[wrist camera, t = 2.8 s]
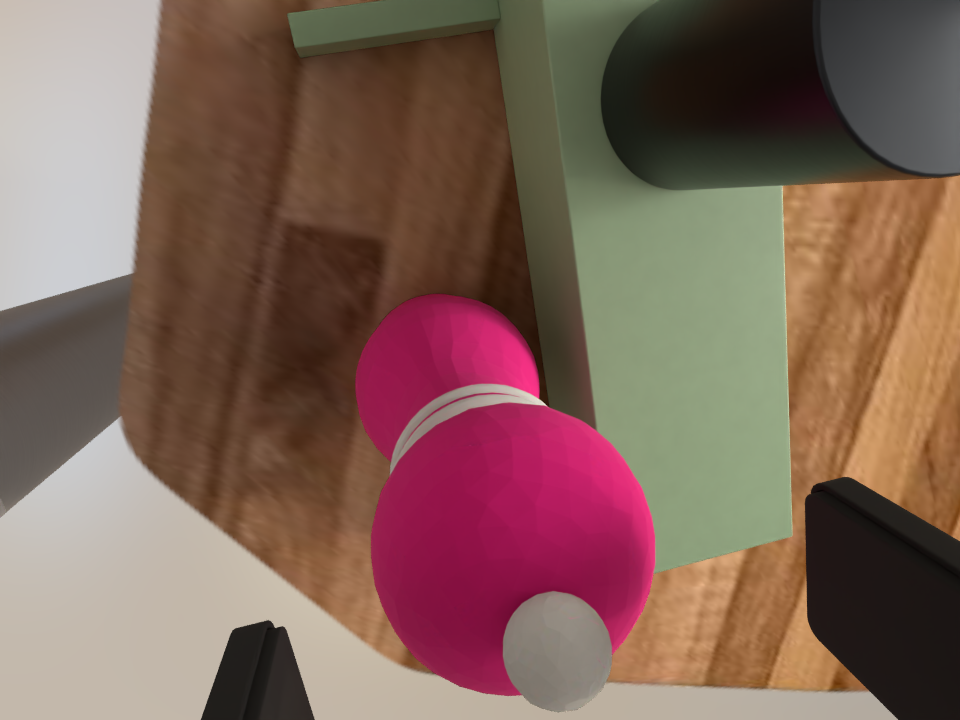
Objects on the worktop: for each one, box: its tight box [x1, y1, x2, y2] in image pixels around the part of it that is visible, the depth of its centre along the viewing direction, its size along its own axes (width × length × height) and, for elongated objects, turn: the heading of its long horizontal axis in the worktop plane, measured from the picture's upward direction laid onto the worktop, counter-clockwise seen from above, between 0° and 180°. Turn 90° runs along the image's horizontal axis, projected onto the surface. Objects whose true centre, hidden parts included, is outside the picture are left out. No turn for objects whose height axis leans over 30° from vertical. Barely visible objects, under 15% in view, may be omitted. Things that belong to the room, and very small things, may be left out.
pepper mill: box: [355, 294, 655, 712], centre depth 18 cm, size 7×7×20 cm
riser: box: [287, 0, 792, 574], centre depth 24 cm, size 16×24×7 cm, turn 10°
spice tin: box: [601, 0, 960, 190], centre depth 15 cm, size 6×6×10 cm
